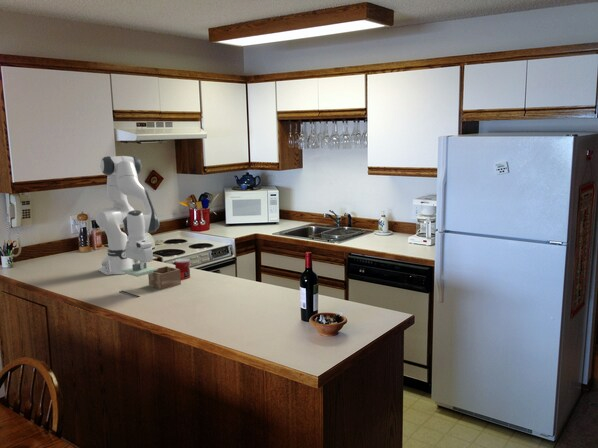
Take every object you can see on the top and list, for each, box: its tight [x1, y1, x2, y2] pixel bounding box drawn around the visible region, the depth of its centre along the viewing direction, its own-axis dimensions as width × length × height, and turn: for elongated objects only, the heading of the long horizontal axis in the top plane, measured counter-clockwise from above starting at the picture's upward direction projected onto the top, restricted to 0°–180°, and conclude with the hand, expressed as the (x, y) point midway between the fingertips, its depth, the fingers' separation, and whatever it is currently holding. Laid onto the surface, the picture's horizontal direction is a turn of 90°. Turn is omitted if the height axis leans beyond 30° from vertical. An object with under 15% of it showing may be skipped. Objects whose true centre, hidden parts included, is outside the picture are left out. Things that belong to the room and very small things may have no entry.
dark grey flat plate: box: [118, 290, 141, 298], centre depth 288 cm, size 16×16×1 cm
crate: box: [147, 265, 182, 290], centre depth 294 cm, size 12×12×9 cm
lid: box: [122, 262, 159, 278], centre depth 285 cm, size 13×13×5 cm
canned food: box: [174, 258, 191, 280], centre depth 308 cm, size 8×8×11 cm
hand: (139, 268), depth 285 cm, fingers closed on lid
